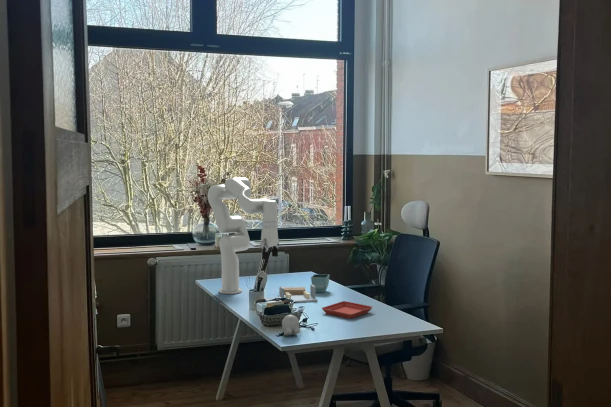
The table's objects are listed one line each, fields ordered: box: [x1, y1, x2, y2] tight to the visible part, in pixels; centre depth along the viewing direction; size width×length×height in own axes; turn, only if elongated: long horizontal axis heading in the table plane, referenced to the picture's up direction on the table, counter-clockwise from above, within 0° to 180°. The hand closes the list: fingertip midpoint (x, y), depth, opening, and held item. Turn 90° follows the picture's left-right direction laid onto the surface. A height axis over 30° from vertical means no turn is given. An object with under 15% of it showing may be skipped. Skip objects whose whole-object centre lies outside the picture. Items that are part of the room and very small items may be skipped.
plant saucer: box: [321, 300, 373, 320], centre depth 309 cm, size 18×18×3 cm
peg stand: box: [279, 283, 318, 303], centre depth 336 cm, size 13×18×7 cm
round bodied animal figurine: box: [281, 314, 301, 337], centre depth 274 cm, size 7×12×8 cm, turn 19°
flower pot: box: [310, 273, 330, 293], centre depth 355 cm, size 9×9×9 cm
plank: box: [278, 286, 306, 295], centre depth 347 cm, size 6×14×4 cm, turn 93°
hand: (270, 257), depth 327 cm, fingers open, 9 cm apart
